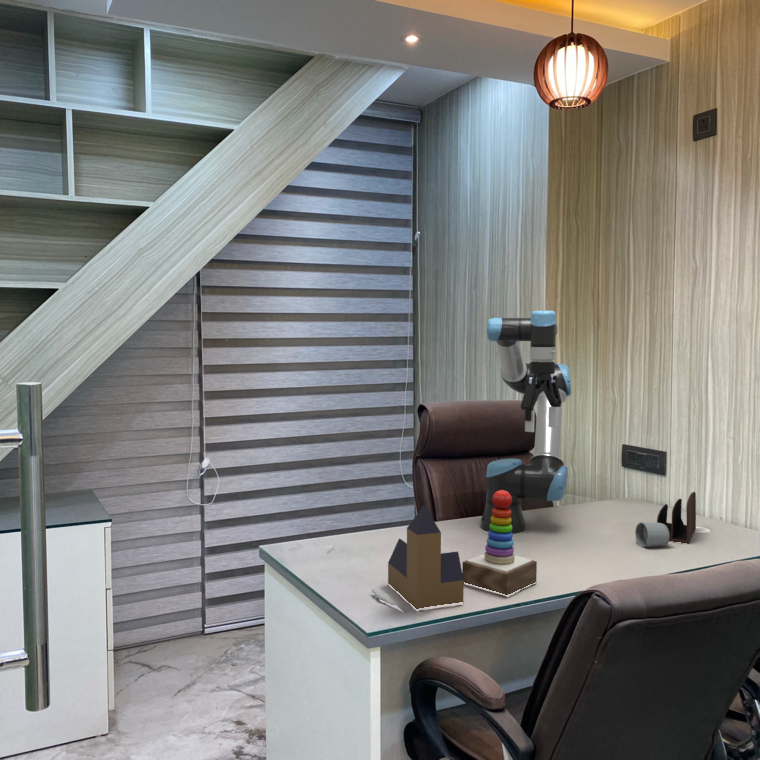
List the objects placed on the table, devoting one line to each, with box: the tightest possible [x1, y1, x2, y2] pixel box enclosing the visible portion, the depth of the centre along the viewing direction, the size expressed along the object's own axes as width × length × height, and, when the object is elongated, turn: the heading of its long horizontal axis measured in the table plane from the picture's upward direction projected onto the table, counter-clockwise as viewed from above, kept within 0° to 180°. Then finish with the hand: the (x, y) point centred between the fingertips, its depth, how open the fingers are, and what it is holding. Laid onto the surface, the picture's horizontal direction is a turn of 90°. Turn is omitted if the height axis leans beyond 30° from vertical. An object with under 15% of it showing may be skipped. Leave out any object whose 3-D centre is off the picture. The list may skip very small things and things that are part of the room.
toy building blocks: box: [387, 505, 465, 609], centre depth 181 cm, size 12×19×25 cm, turn 21°
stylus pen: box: [371, 588, 398, 605], centre depth 175 cm, size 15×3×2 cm, turn 33°
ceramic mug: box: [635, 521, 670, 548], centre depth 225 cm, size 11×8×8 cm
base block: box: [461, 552, 538, 595], centre depth 189 cm, size 14×14×6 cm
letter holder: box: [656, 491, 697, 545], centre depth 236 cm, size 10×20×14 cm, turn 150°
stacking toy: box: [483, 490, 516, 564], centre depth 188 cm, size 8×8×19 cm
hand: (541, 429), depth 221 cm, fingers open, 13 cm apart
